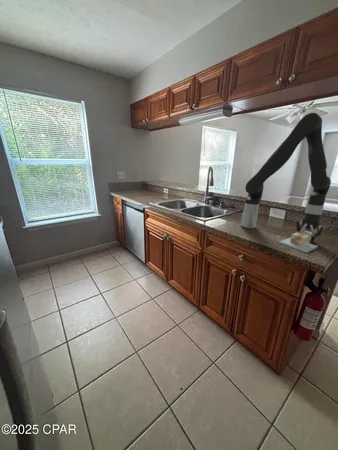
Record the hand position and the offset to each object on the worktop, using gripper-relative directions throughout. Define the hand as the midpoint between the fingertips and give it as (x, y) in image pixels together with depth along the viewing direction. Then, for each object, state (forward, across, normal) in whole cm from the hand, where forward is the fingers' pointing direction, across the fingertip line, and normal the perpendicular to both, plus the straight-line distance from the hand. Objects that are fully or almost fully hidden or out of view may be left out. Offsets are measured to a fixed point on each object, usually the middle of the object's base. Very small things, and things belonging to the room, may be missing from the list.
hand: (306, 239), depth 110 cm
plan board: (0, +1, -11) cm, 11 cm away
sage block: (0, 0, 0) cm, 0 cm away
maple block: (-1, +1, -11) cm, 11 cm away
